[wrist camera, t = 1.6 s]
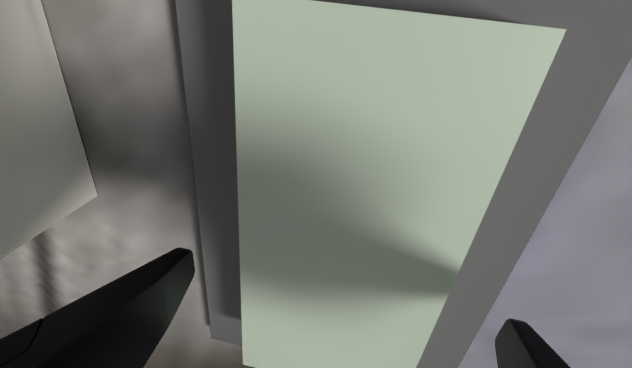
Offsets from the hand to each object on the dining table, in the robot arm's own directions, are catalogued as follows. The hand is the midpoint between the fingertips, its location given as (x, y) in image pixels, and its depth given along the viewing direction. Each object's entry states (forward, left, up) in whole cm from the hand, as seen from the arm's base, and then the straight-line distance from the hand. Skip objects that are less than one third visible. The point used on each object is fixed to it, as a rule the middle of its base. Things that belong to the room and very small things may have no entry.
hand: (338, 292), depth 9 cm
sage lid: (0, 0, -3) cm, 3 cm away
